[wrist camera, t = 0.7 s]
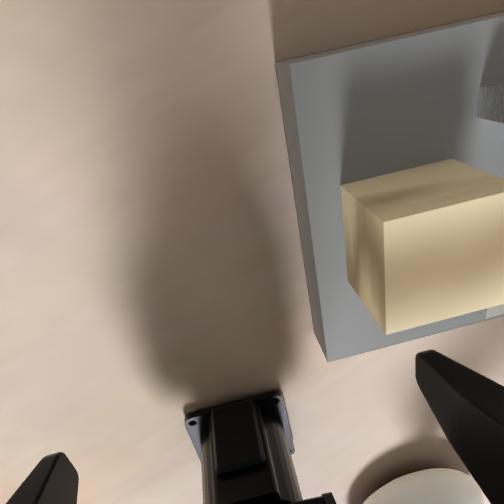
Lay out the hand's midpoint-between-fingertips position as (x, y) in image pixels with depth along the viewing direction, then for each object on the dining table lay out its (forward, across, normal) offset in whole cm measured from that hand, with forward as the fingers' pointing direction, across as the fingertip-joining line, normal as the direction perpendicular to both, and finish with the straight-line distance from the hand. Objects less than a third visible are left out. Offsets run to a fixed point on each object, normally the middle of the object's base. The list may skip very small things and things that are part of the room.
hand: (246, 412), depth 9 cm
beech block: (+8, -8, 0) cm, 12 cm away
